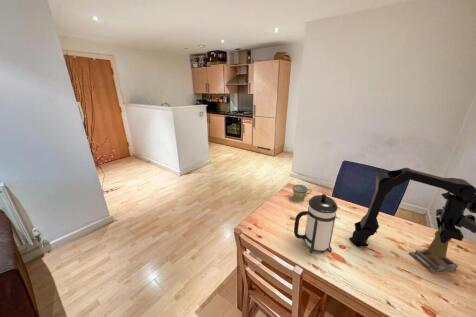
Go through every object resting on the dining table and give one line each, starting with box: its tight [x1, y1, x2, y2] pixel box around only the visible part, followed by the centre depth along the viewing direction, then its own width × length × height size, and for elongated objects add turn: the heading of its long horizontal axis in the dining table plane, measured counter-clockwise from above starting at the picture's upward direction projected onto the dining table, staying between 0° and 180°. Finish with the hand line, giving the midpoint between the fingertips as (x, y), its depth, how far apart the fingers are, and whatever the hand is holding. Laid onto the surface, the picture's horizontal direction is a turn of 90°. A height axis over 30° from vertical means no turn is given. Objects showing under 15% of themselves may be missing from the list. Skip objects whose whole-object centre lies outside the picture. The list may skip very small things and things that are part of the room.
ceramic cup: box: [292, 184, 312, 203], centre depth 141 cm, size 13×10×10 cm
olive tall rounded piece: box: [427, 229, 453, 258], centre depth 88 cm, size 6×6×11 cm
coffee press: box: [293, 193, 339, 254], centre depth 97 cm, size 17×16×30 cm
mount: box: [408, 248, 459, 274], centre depth 92 cm, size 12×11×3 cm
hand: (441, 239), depth 87 cm, fingers closed on olive tall rounded piece, 5 cm apart
